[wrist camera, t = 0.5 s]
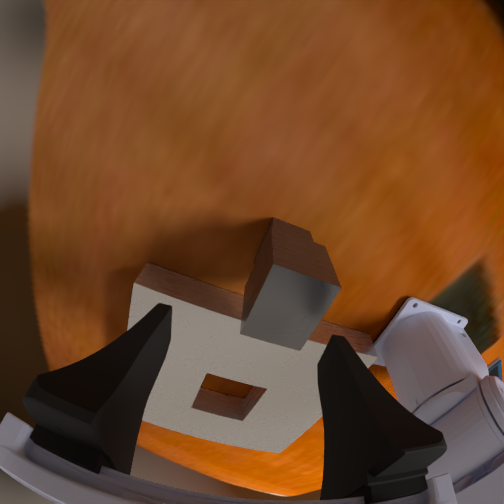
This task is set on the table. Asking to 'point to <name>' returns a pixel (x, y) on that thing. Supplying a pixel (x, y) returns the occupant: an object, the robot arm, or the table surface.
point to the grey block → (288, 287)
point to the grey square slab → (231, 367)
